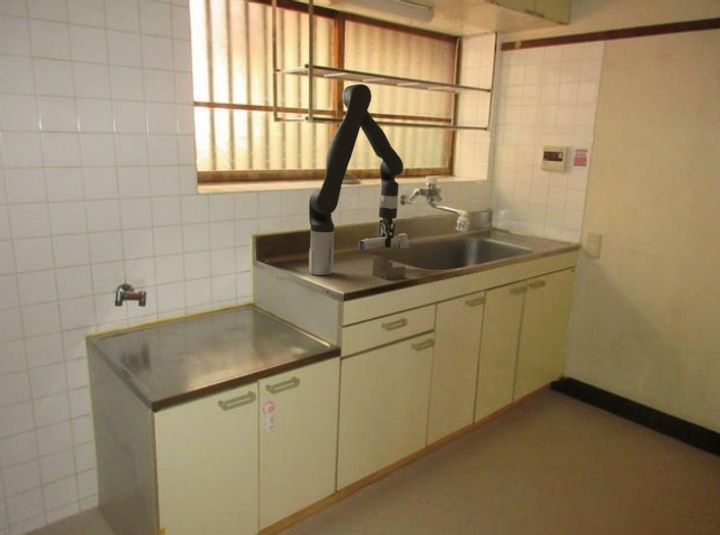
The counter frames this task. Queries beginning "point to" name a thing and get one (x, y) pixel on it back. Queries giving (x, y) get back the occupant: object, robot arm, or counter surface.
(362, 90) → the robot arm
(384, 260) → the cup bracket
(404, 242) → the grey piece
